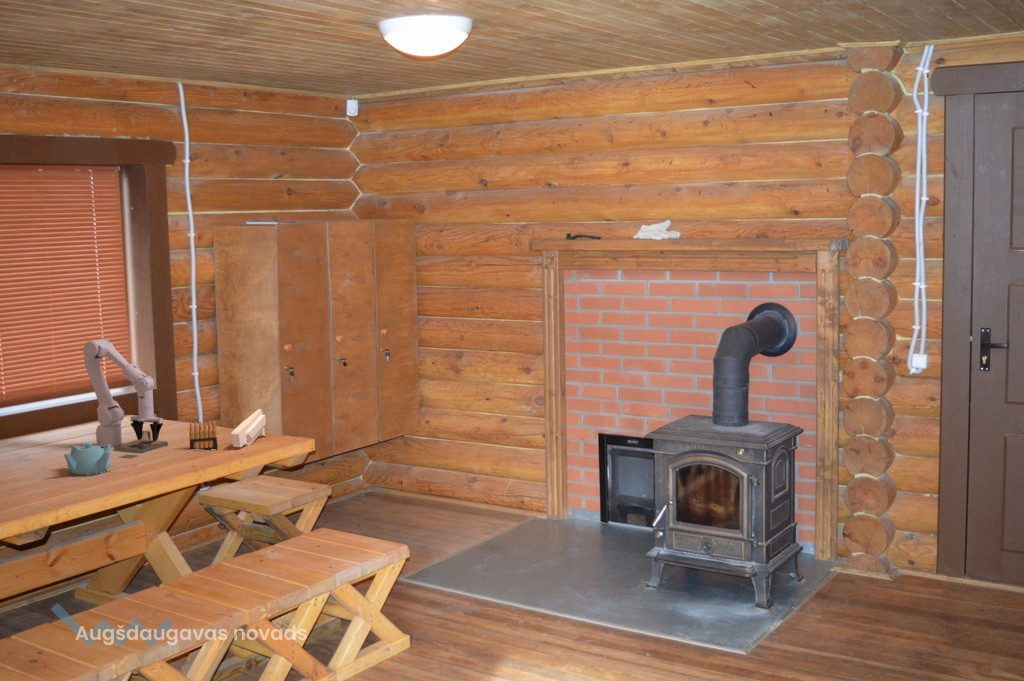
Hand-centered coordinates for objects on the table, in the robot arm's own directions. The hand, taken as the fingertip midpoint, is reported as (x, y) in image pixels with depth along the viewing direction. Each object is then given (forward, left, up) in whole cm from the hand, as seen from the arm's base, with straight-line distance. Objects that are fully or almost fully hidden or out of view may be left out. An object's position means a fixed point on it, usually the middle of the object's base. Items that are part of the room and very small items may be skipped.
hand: (147, 439), depth 424 cm
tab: (+6, -18, -3) cm, 19 cm away
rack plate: (0, -4, -3) cm, 5 cm away
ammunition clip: (+24, +4, -4) cm, 25 cm away
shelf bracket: (+34, +22, -4) cm, 40 cm away
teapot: (+6, -39, -4) cm, 40 cm away
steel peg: (0, 0, -3) cm, 3 cm away
